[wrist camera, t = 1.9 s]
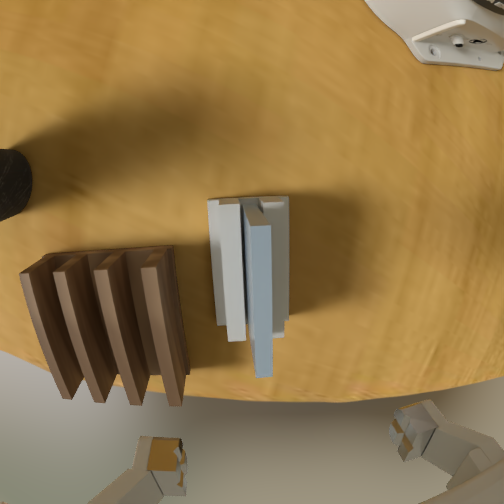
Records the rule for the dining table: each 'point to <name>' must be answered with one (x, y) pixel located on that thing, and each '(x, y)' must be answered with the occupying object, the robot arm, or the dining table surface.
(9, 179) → the travel mug
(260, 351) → the side plate
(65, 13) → the dining table surface
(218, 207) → the plate stand
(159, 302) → the dish rack
